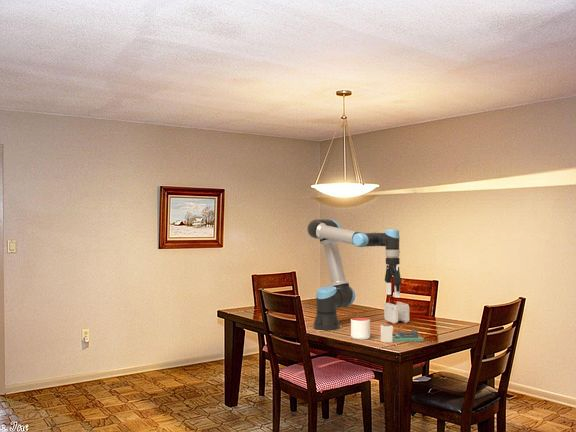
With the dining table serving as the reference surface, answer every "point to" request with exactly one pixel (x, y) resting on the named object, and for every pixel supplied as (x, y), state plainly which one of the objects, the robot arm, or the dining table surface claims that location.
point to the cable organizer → (396, 312)
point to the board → (406, 336)
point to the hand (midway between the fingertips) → (392, 296)
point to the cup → (360, 328)
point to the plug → (386, 333)
